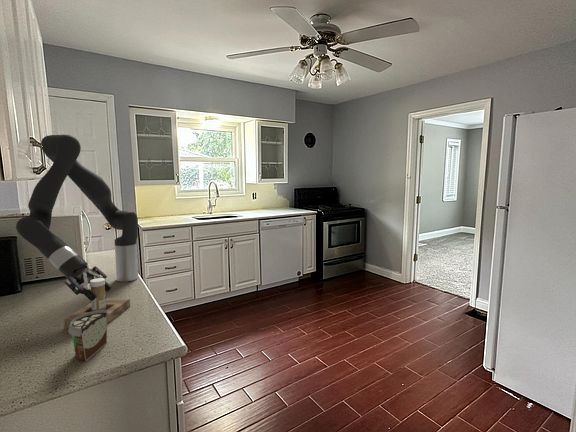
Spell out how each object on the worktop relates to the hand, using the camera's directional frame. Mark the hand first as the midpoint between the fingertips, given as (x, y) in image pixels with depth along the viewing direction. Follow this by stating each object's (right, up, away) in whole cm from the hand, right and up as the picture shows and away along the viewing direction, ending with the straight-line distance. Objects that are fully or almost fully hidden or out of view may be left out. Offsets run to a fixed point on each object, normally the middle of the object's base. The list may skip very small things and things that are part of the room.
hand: (102, 294), depth 109 cm
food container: (+8, -11, -21) cm, 25 cm away
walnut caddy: (-2, -8, +1) cm, 8 cm away
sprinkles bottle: (-2, -8, +1) cm, 8 cm away
